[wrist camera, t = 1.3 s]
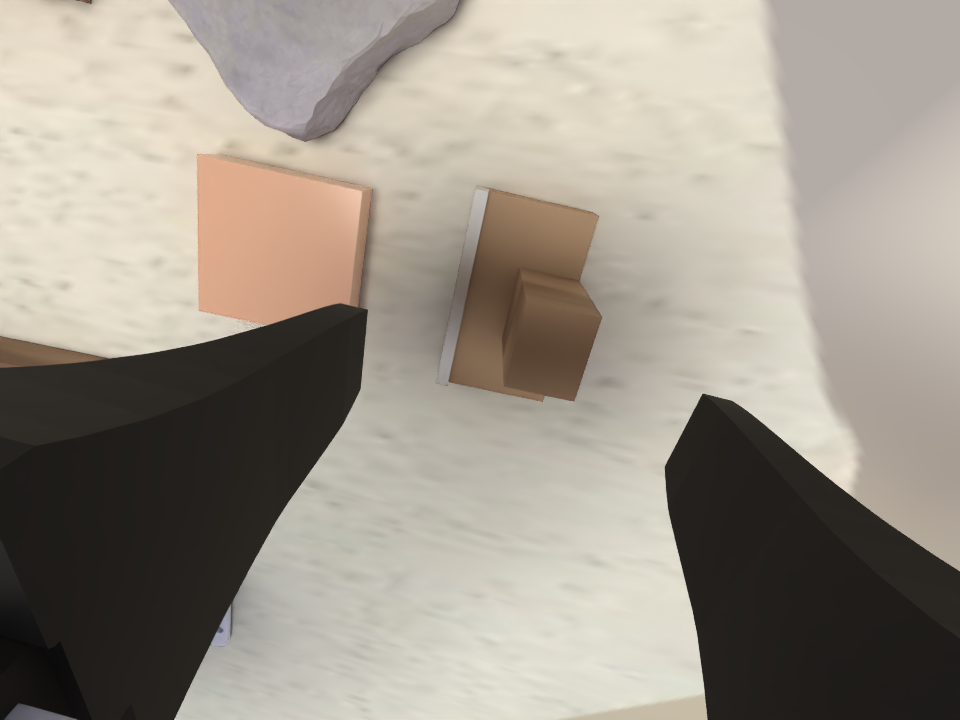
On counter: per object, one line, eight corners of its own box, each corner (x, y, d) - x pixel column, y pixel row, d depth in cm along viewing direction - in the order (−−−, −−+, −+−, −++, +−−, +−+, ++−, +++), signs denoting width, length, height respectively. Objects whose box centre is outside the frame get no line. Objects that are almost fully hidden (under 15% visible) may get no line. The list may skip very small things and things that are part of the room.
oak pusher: (540, 387, 23) (553, 463, 17) (440, 366, 23) (422, 436, 17) (592, 212, 20) (628, 236, 14) (476, 185, 20) (469, 199, 14)
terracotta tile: (358, 325, 22) (345, 341, 20) (223, 297, 22) (198, 310, 20) (374, 187, 20) (362, 191, 18) (225, 153, 20) (197, 154, 18)
